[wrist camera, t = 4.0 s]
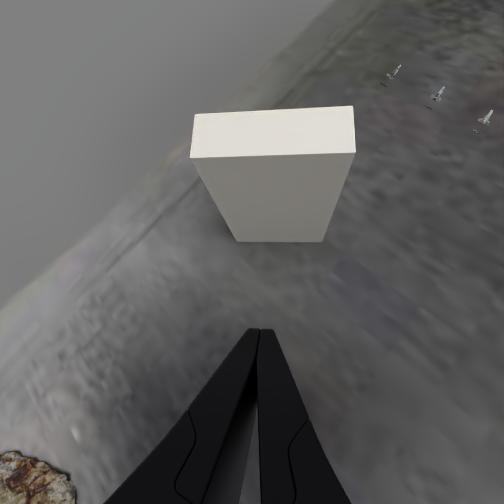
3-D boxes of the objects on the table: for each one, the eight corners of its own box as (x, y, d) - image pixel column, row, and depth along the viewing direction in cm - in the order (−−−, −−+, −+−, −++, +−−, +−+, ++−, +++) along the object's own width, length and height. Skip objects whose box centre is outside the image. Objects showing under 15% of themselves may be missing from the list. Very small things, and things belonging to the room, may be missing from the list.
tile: (322, 242, 23) (355, 152, 12) (237, 241, 24) (189, 157, 12) (321, 213, 24) (352, 102, 12) (238, 214, 25) (195, 110, 13)
